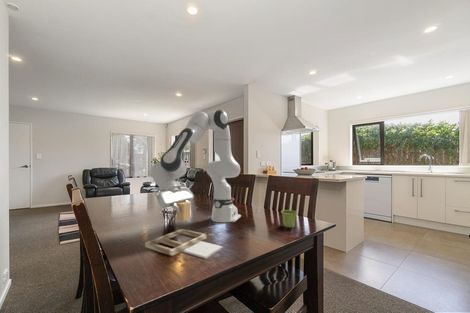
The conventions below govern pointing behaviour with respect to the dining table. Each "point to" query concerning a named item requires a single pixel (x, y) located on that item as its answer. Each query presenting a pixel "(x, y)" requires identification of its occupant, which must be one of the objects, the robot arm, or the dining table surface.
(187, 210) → the ochre block
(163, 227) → the dining table surface
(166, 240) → the puzzle board
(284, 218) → the plant pot
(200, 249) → the white square plate
